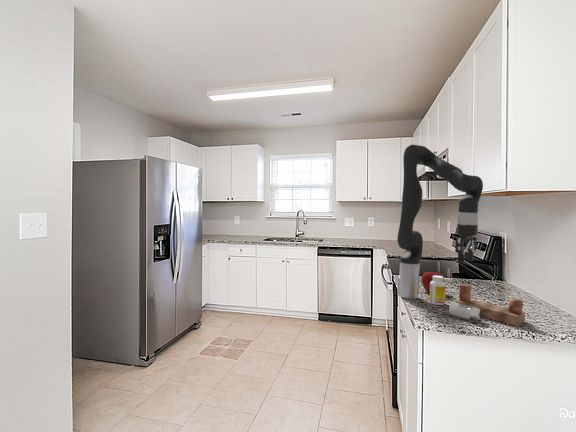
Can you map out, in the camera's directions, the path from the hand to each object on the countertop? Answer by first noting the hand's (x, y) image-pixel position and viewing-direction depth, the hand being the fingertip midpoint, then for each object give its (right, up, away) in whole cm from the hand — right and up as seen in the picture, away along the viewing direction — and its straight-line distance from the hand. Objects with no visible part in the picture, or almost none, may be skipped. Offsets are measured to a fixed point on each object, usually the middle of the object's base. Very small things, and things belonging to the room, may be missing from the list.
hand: (465, 262), depth 132 cm
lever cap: (-1, -22, -2) cm, 22 cm away
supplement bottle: (-4, -22, +17) cm, 28 cm away
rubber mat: (-2, -23, -1) cm, 23 cm away
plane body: (+10, -23, +1) cm, 25 cm away
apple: (+2, -22, +36) cm, 42 cm away
